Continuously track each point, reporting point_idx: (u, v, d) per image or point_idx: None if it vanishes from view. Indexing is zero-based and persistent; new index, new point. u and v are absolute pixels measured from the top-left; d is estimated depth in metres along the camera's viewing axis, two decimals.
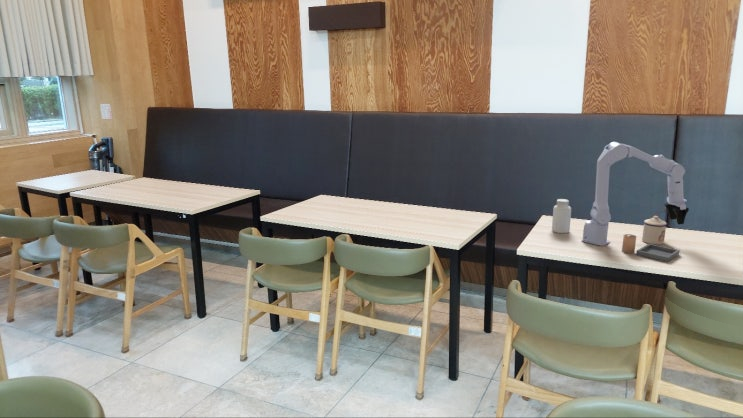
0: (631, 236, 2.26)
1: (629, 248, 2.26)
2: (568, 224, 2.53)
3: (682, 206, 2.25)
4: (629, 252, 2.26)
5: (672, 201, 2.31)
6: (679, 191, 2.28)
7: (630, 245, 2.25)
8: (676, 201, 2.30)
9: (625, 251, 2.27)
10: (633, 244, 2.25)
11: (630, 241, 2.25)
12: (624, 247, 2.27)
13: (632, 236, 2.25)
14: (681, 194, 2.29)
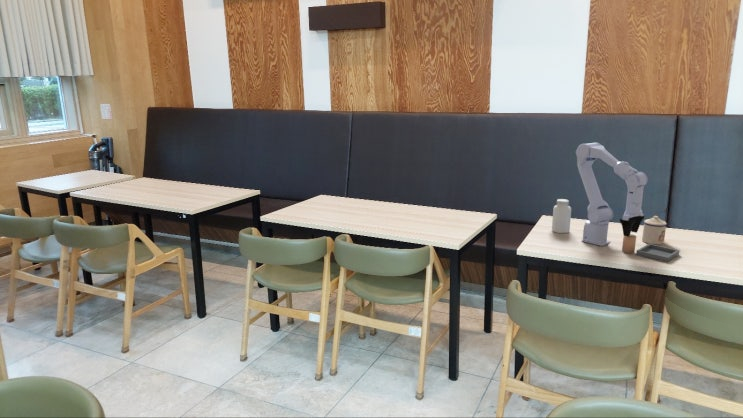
0: (631, 236, 2.26)
1: (629, 248, 2.26)
2: (568, 224, 2.53)
3: (624, 216, 2.20)
4: (629, 252, 2.26)
5: (625, 211, 2.24)
6: (631, 202, 2.21)
7: (630, 245, 2.25)
8: (628, 212, 2.23)
9: (625, 251, 2.27)
10: (633, 244, 2.25)
11: (630, 241, 2.25)
12: (624, 247, 2.27)
13: (632, 236, 2.25)
14: (634, 206, 2.21)
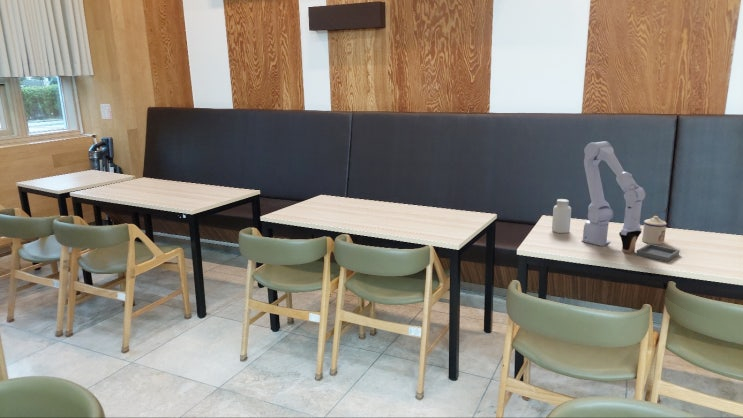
0: None
1: (629, 248, 2.26)
2: (568, 224, 2.53)
3: (622, 231, 2.21)
4: (629, 252, 2.26)
5: (624, 225, 2.26)
6: (629, 217, 2.23)
7: (630, 245, 2.25)
8: (626, 226, 2.24)
9: (625, 251, 2.27)
10: (633, 244, 2.25)
11: None
12: None
13: None
14: (632, 221, 2.22)
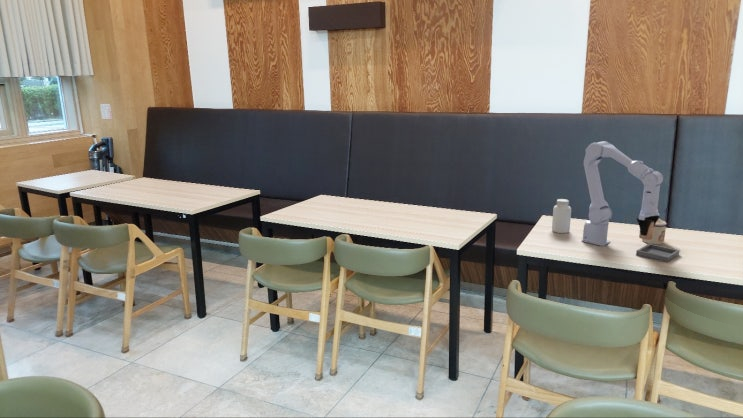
0: None
1: None
2: (568, 224, 2.53)
3: (640, 216, 2.17)
4: (647, 238, 2.22)
5: (641, 210, 2.22)
6: (648, 202, 2.18)
7: None
8: (644, 211, 2.20)
9: (643, 237, 2.23)
10: (651, 230, 2.21)
11: None
12: None
13: None
14: (650, 205, 2.18)
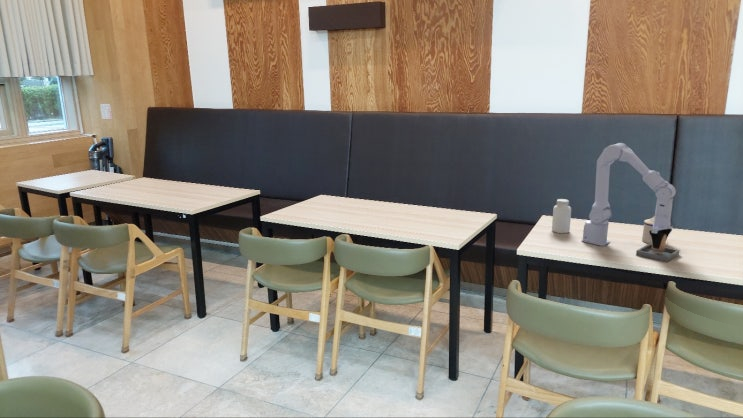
0: None
1: (659, 247, 2.21)
2: (568, 224, 2.53)
3: (653, 229, 2.17)
4: (659, 251, 2.21)
5: (654, 223, 2.21)
6: (662, 215, 2.18)
7: None
8: (656, 224, 2.20)
9: (655, 250, 2.22)
10: (663, 243, 2.21)
11: None
12: None
13: None
14: (663, 219, 2.18)
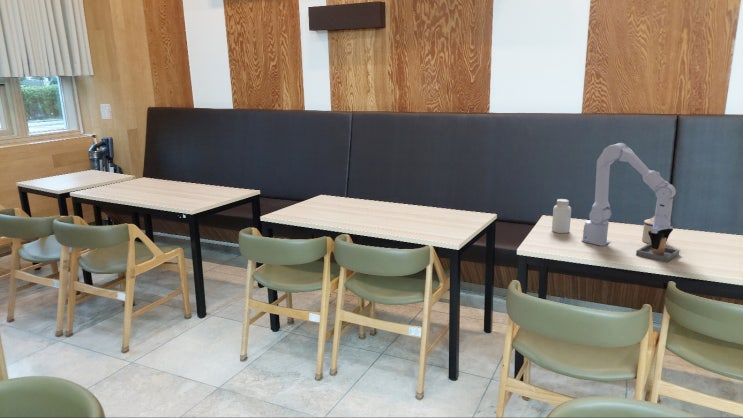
0: None
1: (659, 250, 2.21)
2: (568, 224, 2.53)
3: (653, 229, 2.17)
4: (659, 254, 2.22)
5: (654, 223, 2.21)
6: (662, 215, 2.18)
7: (660, 247, 2.21)
8: (656, 224, 2.20)
9: (655, 253, 2.22)
10: (663, 246, 2.21)
11: (661, 243, 2.21)
12: (654, 249, 2.23)
13: (663, 238, 2.21)
14: (663, 219, 2.18)
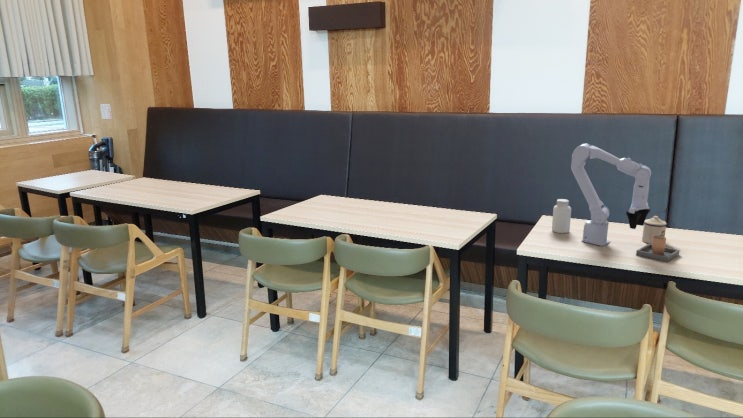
0: (661, 238, 2.21)
1: (659, 250, 2.21)
2: (568, 224, 2.53)
3: (630, 209, 2.24)
4: (659, 254, 2.22)
5: (632, 204, 2.29)
6: (640, 196, 2.25)
7: (660, 247, 2.21)
8: (634, 205, 2.27)
9: (655, 253, 2.22)
10: (663, 246, 2.21)
11: (661, 243, 2.21)
12: (654, 249, 2.23)
13: (662, 238, 2.21)
14: (640, 199, 2.25)
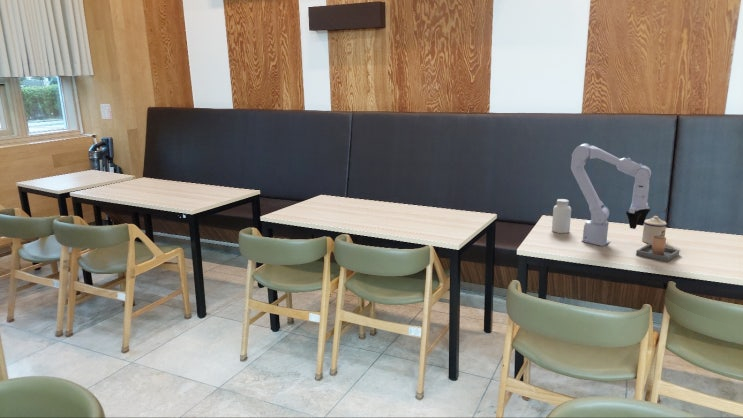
0: (661, 238, 2.21)
1: (659, 250, 2.21)
2: (568, 224, 2.53)
3: (630, 209, 2.24)
4: (659, 254, 2.22)
5: (632, 204, 2.29)
6: (640, 196, 2.25)
7: (660, 247, 2.21)
8: (634, 205, 2.27)
9: (655, 253, 2.22)
10: (663, 246, 2.21)
11: (661, 243, 2.21)
12: (654, 249, 2.23)
13: (662, 238, 2.21)
14: (640, 199, 2.25)
